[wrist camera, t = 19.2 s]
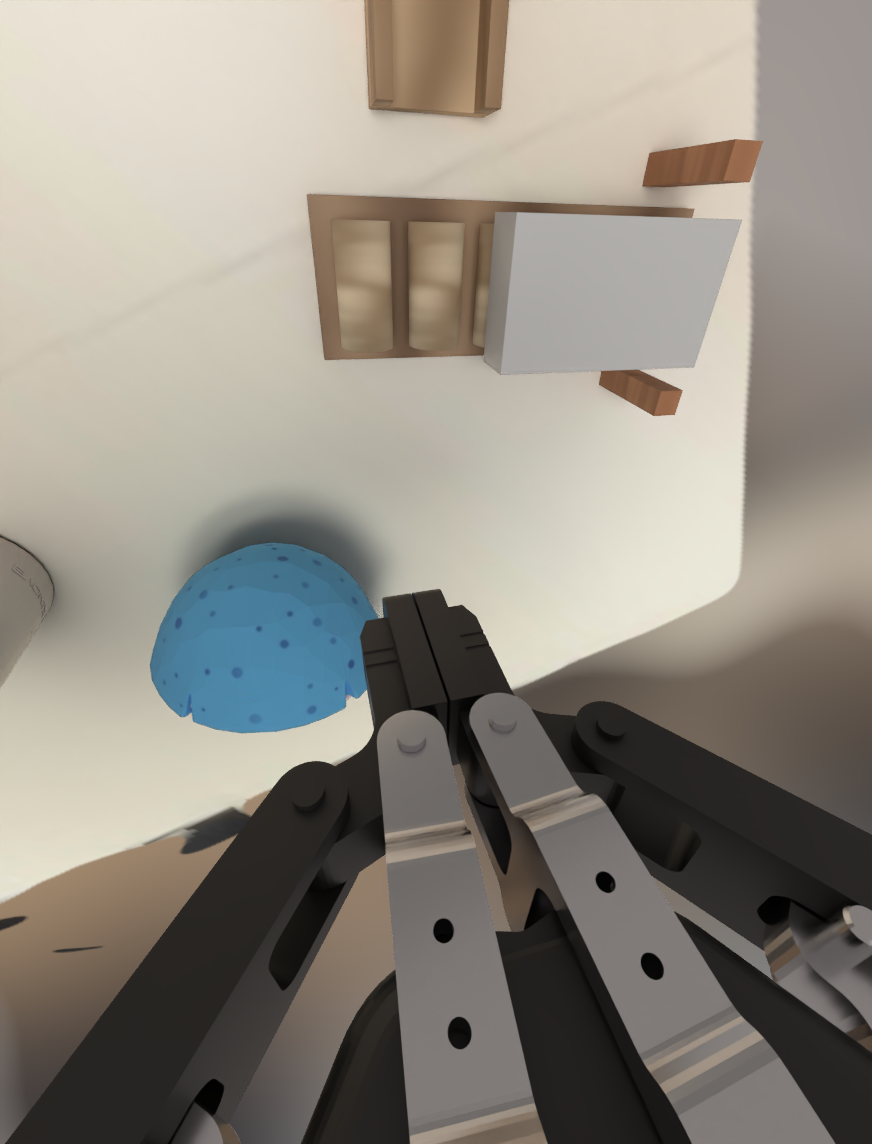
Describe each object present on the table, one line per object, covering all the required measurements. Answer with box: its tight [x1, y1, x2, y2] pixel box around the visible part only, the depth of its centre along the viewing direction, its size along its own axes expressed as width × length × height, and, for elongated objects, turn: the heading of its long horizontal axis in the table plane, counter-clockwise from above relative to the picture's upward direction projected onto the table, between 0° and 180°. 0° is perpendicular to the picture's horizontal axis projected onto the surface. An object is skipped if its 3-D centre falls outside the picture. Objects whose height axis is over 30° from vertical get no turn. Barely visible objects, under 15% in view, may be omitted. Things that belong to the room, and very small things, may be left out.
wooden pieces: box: [307, 0, 763, 416], centre depth 25 cm, size 23×21×7 cm
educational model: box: [150, 542, 379, 733], centre depth 35 cm, size 16×19×15 cm
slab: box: [484, 212, 742, 375], centre depth 26 cm, size 12×7×3 cm, turn 88°
